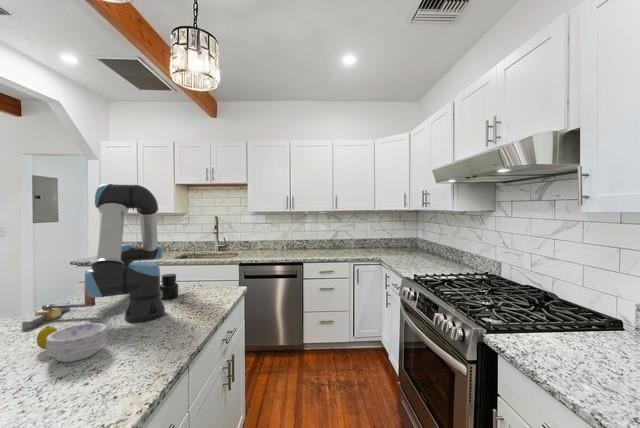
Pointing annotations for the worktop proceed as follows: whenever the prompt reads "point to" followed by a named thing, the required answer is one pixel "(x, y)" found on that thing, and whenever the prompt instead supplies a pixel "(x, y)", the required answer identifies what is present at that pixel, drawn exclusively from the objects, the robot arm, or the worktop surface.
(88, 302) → the lever
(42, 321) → the gray bar
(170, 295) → the ink bottle
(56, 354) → the paper bowls
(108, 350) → the worktop surface
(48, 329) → the lemon
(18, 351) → the worktop surface
